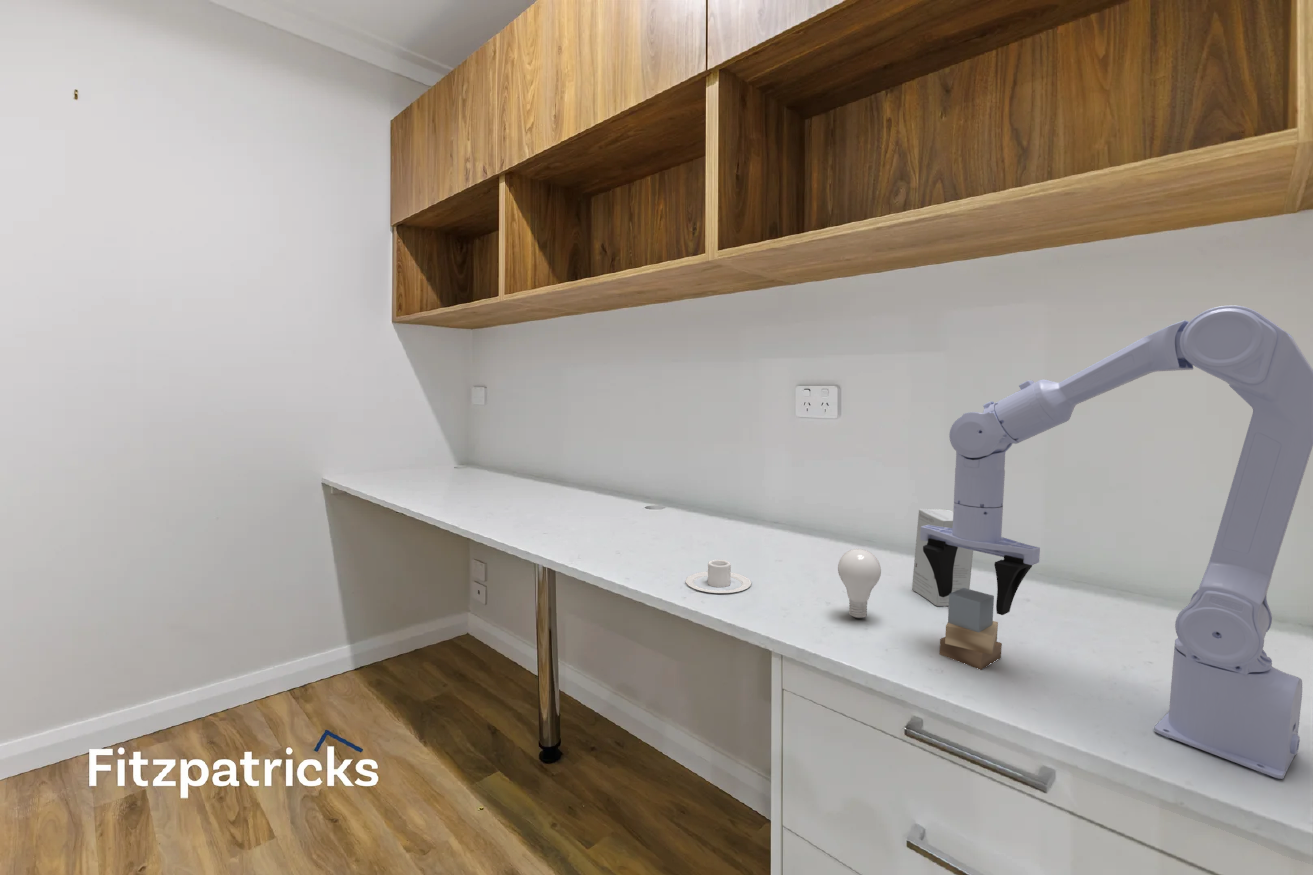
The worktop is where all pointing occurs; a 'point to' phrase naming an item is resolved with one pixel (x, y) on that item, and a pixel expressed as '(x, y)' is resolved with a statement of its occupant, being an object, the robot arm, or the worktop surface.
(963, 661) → the lower tile
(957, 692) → the worktop surface
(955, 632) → the upper tile
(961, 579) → the skincare box
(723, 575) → the candle holder
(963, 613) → the cube
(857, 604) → the lightbulb
